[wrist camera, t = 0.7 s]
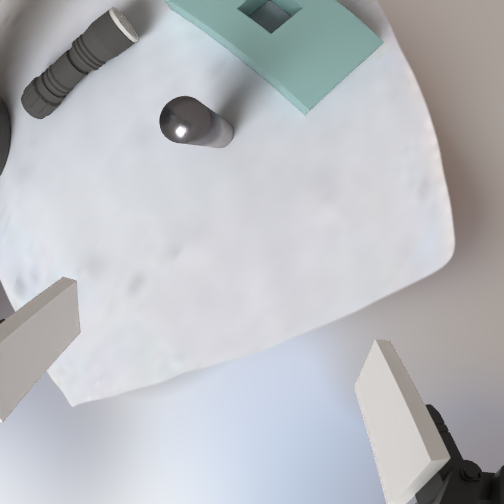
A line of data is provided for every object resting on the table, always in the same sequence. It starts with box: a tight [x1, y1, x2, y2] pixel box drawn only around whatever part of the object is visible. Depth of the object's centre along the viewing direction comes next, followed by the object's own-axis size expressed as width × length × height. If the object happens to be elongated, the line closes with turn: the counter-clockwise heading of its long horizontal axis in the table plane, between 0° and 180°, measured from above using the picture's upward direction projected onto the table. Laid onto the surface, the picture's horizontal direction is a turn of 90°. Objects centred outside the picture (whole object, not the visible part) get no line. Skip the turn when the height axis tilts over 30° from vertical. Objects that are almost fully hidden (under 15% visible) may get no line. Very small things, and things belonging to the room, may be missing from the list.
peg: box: [160, 96, 234, 148], centre depth 24 cm, size 3×3×14 cm
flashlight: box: [21, 7, 139, 119], centre depth 27 cm, size 15×5×5 cm, turn 120°
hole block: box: [165, 0, 384, 115], centre depth 25 cm, size 20×11×4 cm, turn 47°
